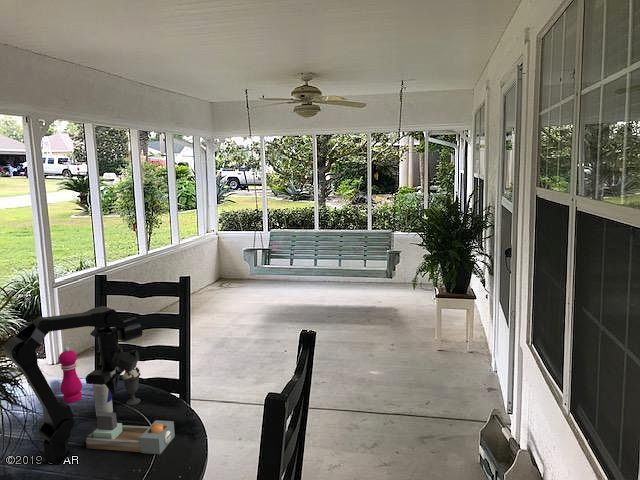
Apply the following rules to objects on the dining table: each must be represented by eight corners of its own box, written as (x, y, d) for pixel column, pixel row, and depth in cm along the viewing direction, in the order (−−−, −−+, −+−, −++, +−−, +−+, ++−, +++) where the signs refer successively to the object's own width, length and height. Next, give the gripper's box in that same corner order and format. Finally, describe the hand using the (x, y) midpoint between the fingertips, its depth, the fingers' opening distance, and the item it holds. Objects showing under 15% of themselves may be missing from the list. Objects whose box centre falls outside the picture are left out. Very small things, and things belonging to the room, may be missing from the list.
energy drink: (116, 411, 181) (112, 379, 179) (108, 419, 176) (104, 386, 174) (101, 411, 182) (97, 378, 180) (93, 419, 177) (89, 385, 175)
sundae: (122, 407, 184) (118, 367, 181) (124, 399, 190) (120, 360, 188) (142, 404, 186) (138, 364, 183) (143, 396, 192) (139, 357, 189)
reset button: (160, 442, 158) (159, 429, 157) (149, 441, 158) (148, 429, 158) (166, 435, 161) (165, 423, 160) (155, 434, 162) (154, 423, 161)
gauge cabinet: (161, 454, 155) (160, 438, 154) (141, 453, 156) (139, 437, 155) (176, 436, 164) (175, 421, 163) (156, 435, 165) (155, 420, 165)
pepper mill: (57, 402, 190) (50, 350, 186) (71, 393, 196) (65, 342, 193) (73, 404, 187) (67, 351, 184) (87, 395, 194) (81, 344, 191)
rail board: (142, 452, 156) (141, 441, 156) (87, 448, 159) (85, 437, 159) (156, 435, 165) (155, 425, 164) (103, 432, 168) (102, 422, 167)
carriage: (112, 441, 159) (109, 419, 158) (94, 440, 160) (91, 418, 159) (122, 431, 165) (120, 409, 164) (105, 430, 166) (102, 409, 165)
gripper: (116, 359, 153) (121, 408, 156) (147, 336, 172) (151, 381, 174) (81, 357, 155) (87, 406, 158) (115, 335, 173) (120, 379, 176)
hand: (113, 393), depth 166 cm, fingers closed
